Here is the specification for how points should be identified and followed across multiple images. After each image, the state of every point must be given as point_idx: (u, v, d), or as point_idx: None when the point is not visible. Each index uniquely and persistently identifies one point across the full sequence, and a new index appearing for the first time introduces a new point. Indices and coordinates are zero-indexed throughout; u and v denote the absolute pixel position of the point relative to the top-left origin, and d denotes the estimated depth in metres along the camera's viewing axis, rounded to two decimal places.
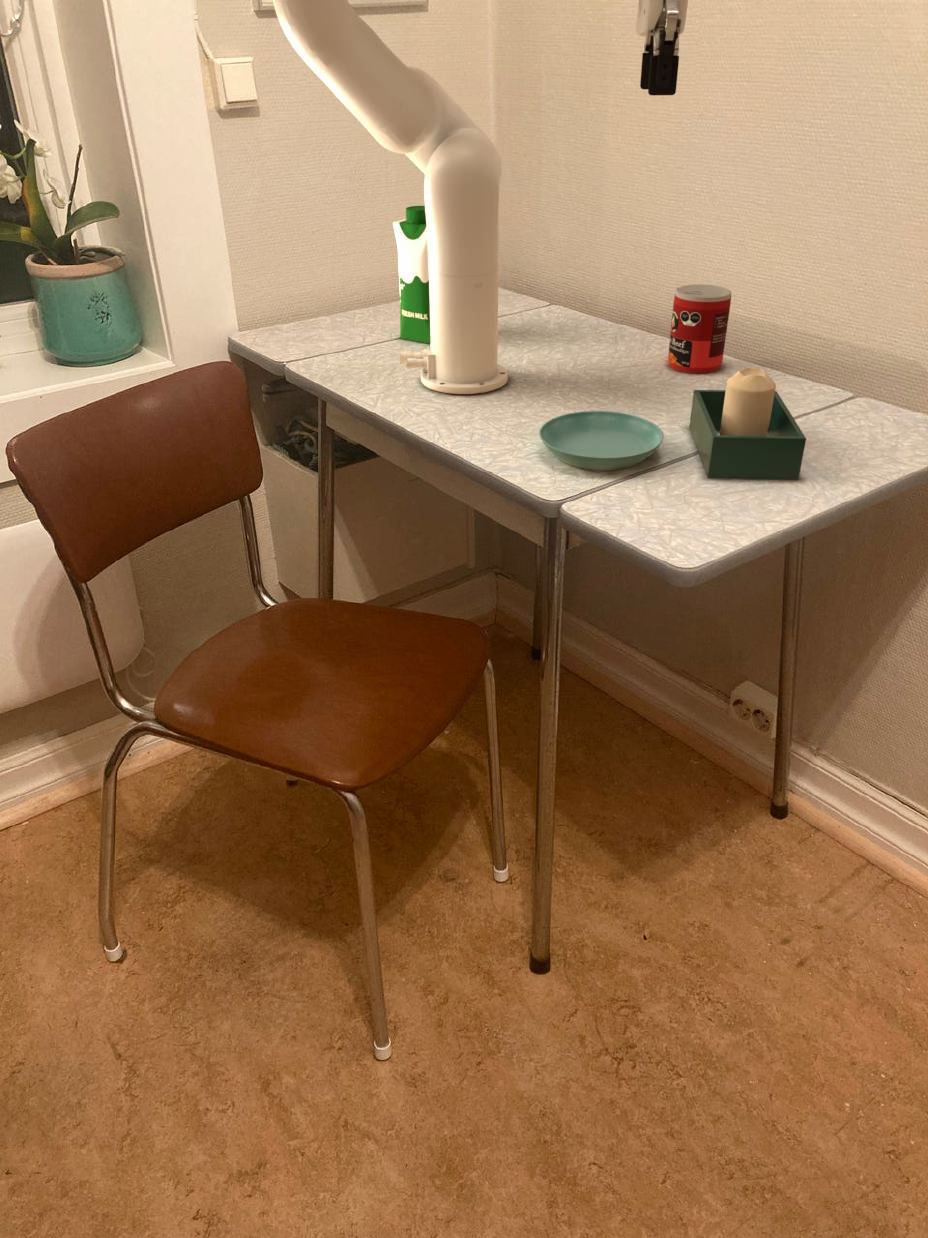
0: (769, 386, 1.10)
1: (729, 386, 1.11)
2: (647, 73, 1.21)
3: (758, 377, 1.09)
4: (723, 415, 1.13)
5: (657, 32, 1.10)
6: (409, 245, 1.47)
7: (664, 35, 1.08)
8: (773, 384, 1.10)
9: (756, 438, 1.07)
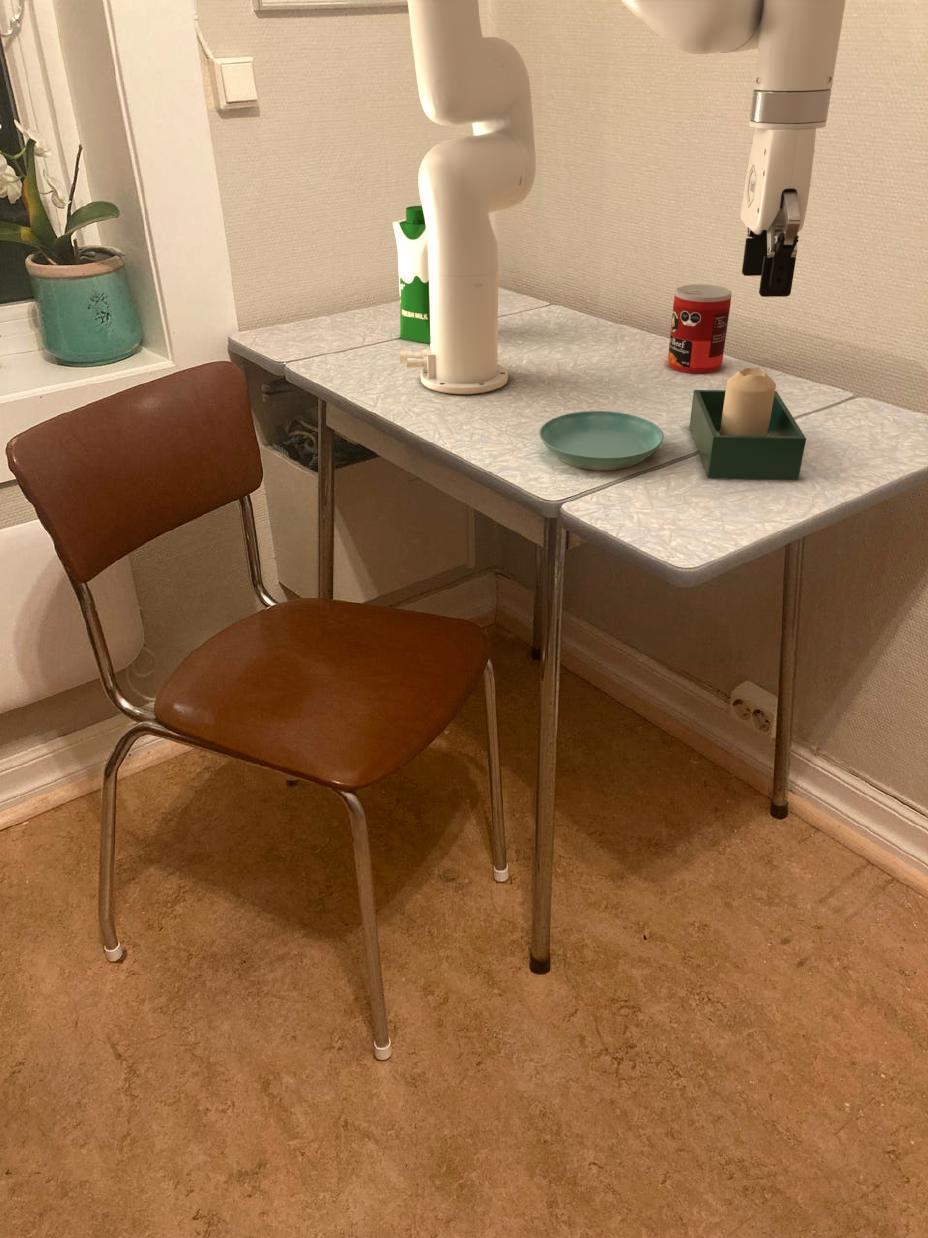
0: (769, 386, 1.10)
1: (729, 386, 1.11)
2: (751, 260, 1.09)
3: (758, 377, 1.09)
4: (723, 415, 1.13)
5: (772, 232, 0.99)
6: (409, 245, 1.47)
7: (783, 240, 0.96)
8: (773, 384, 1.10)
9: (756, 438, 1.07)
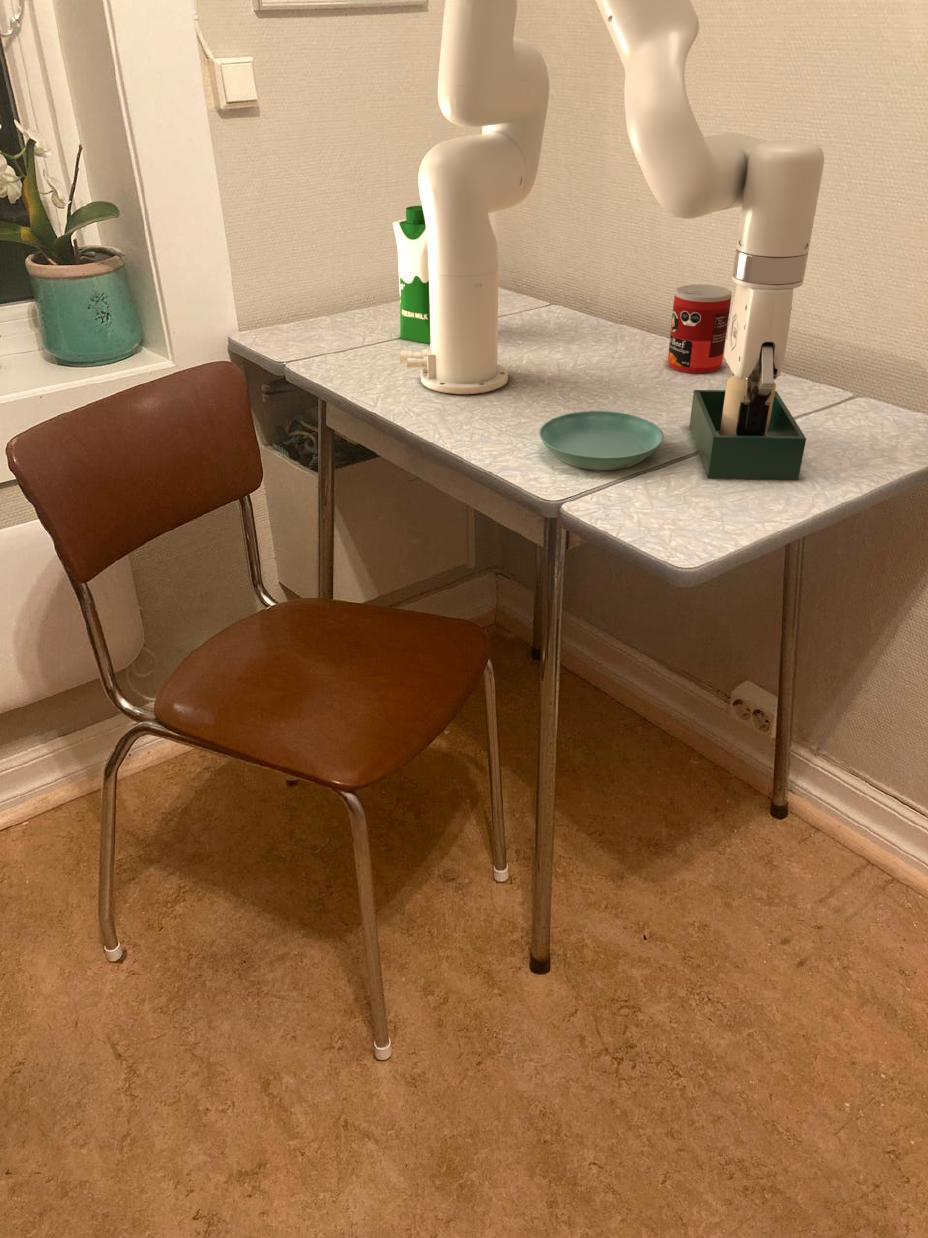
0: None
1: (729, 386, 1.11)
2: None
3: None
4: (723, 415, 1.13)
5: (749, 383, 1.08)
6: (409, 245, 1.47)
7: (756, 395, 1.06)
8: (773, 384, 1.10)
9: (756, 438, 1.07)
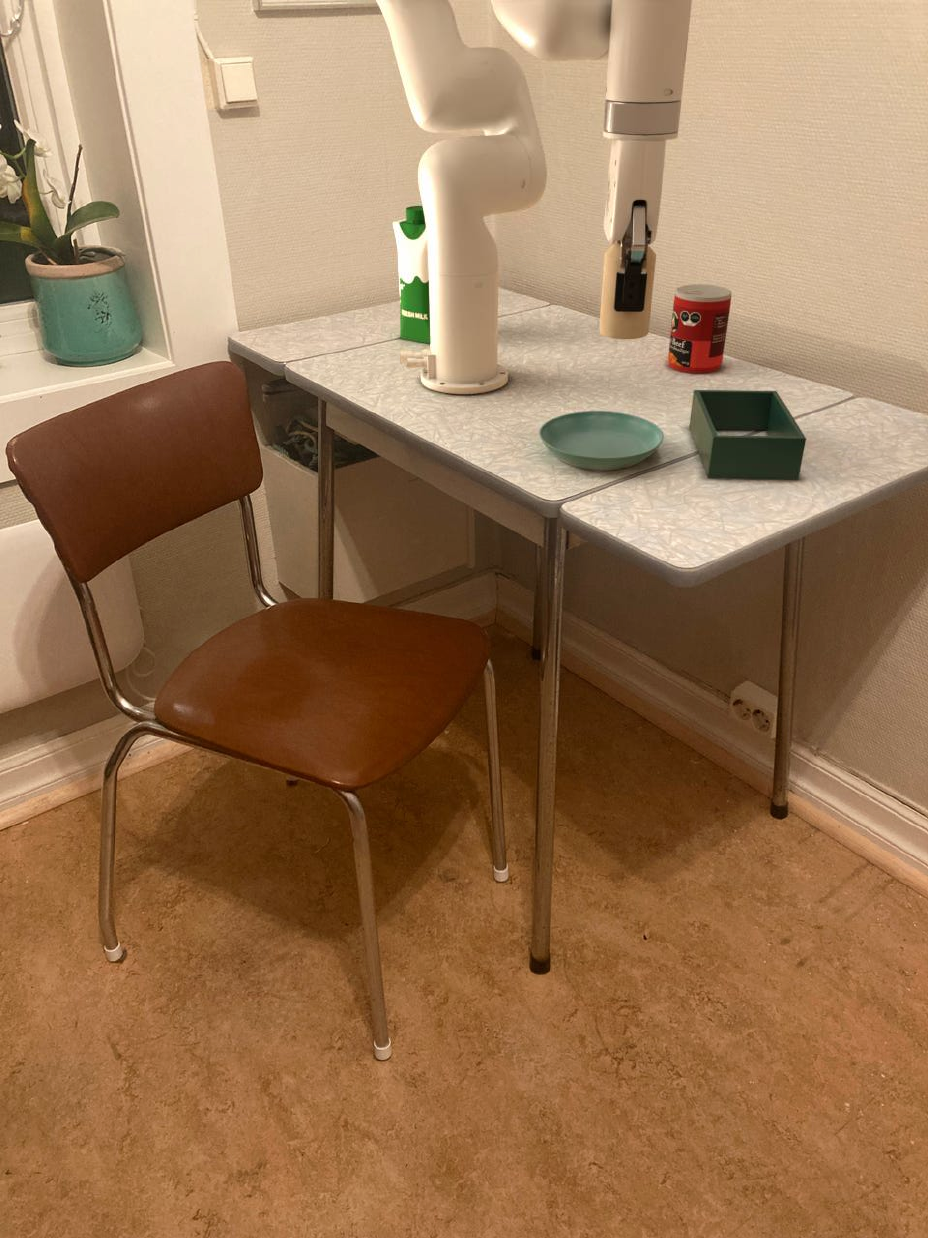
0: (647, 255, 1.02)
1: (606, 257, 1.03)
2: None
3: None
4: (602, 290, 1.06)
5: (624, 249, 1.00)
6: (409, 245, 1.47)
7: (630, 260, 0.99)
8: (652, 253, 1.03)
9: (756, 438, 1.07)
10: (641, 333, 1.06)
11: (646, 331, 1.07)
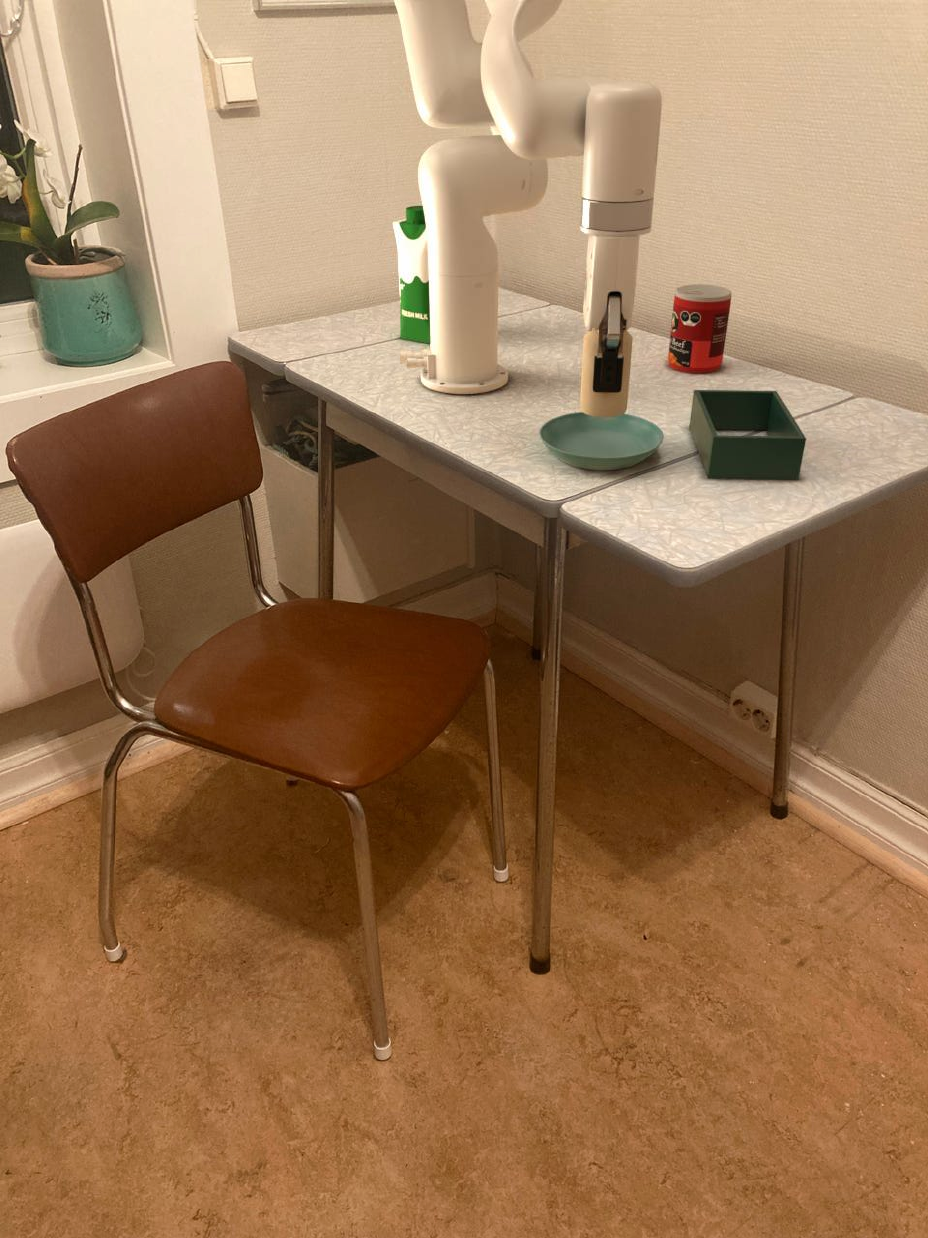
0: (624, 339, 1.07)
1: (585, 340, 1.08)
2: None
3: None
4: (582, 370, 1.11)
5: (601, 336, 1.05)
6: (409, 245, 1.47)
7: (606, 346, 1.03)
8: (629, 337, 1.07)
9: (756, 438, 1.07)
10: (619, 411, 1.11)
11: (624, 409, 1.12)
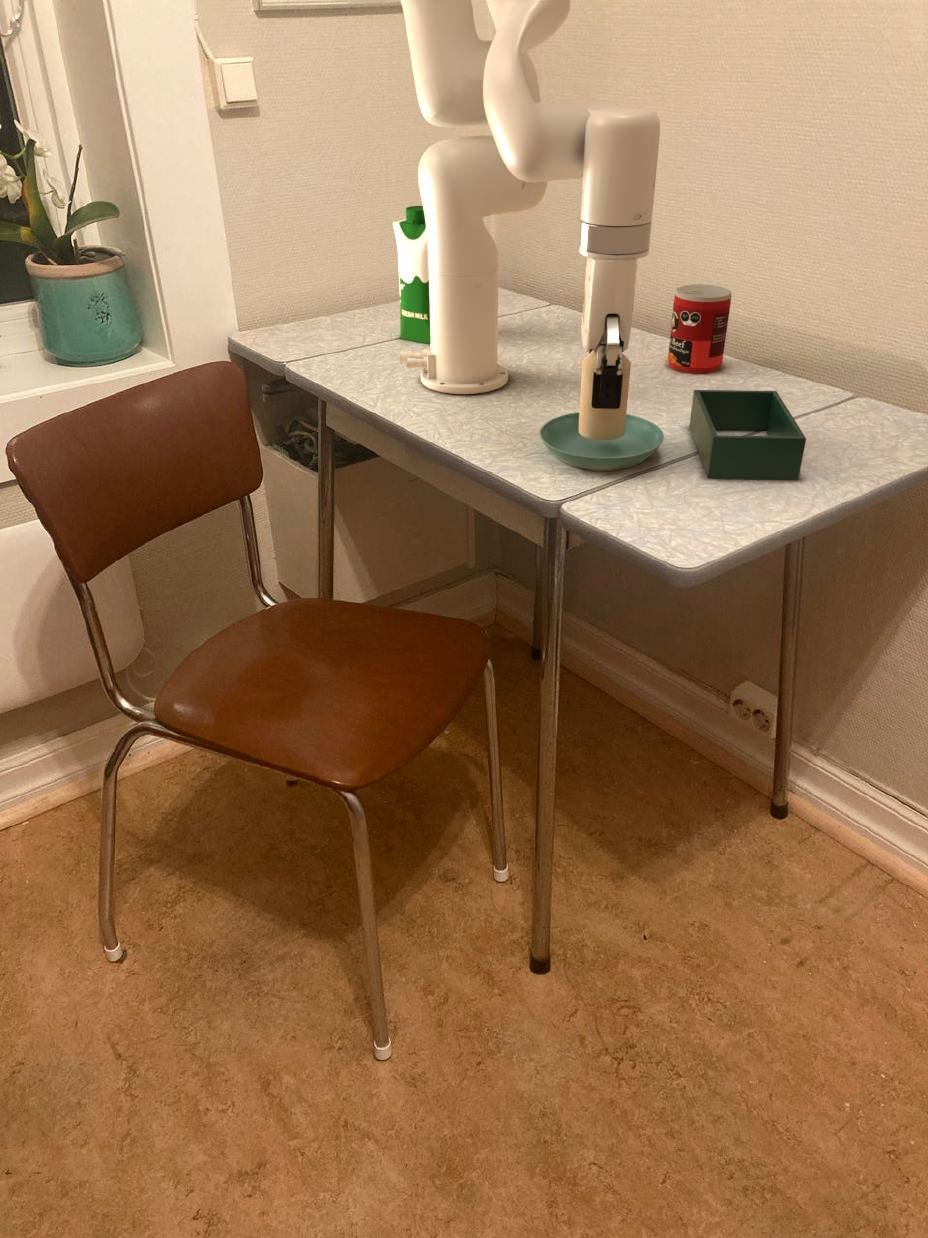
0: (622, 364, 1.08)
1: (584, 365, 1.10)
2: None
3: None
4: None
5: (599, 351, 1.05)
6: (409, 245, 1.47)
7: (605, 362, 1.03)
8: (627, 363, 1.09)
9: (756, 438, 1.07)
10: (617, 434, 1.13)
11: (622, 432, 1.13)
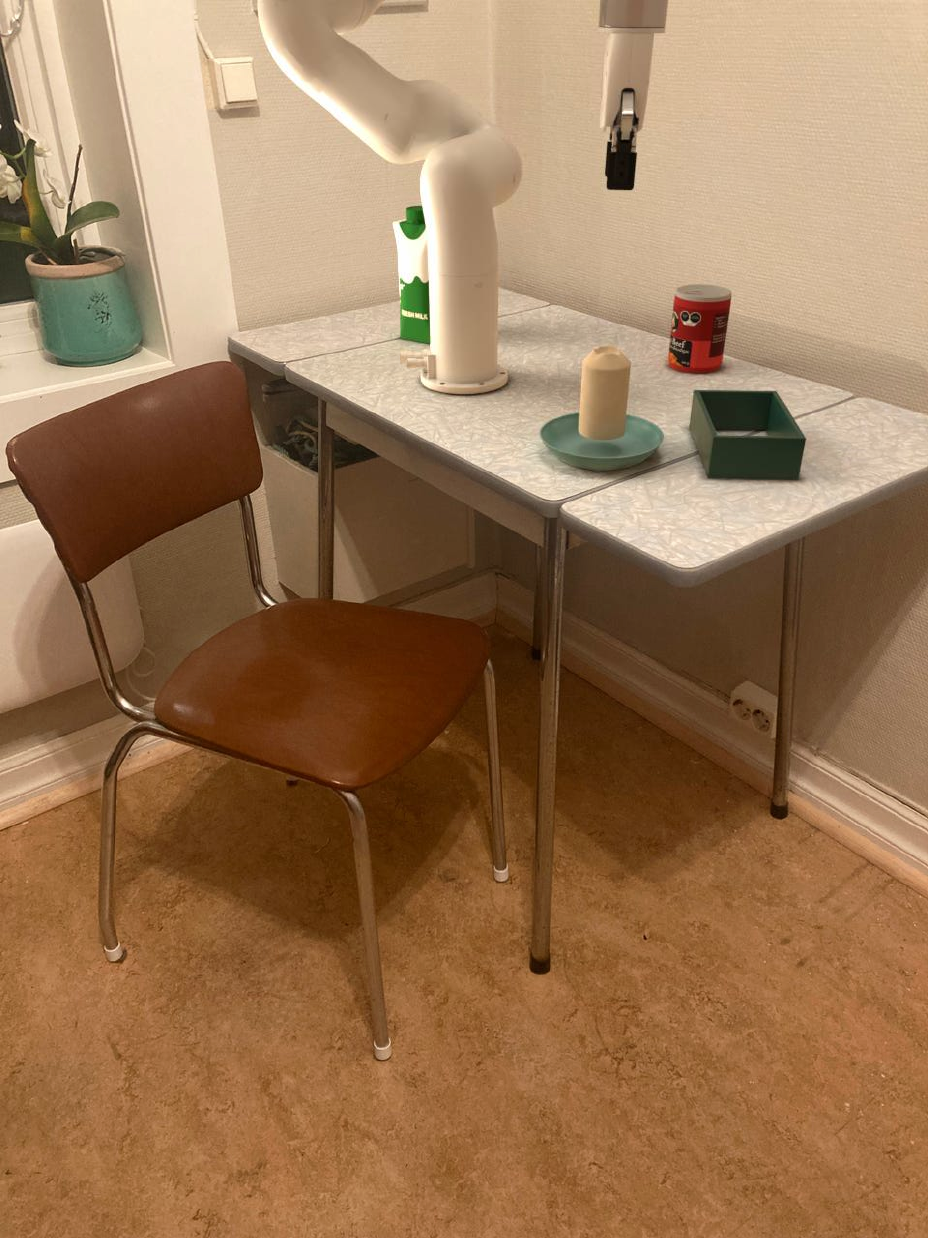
0: (622, 364, 1.08)
1: (584, 365, 1.10)
2: None
3: (611, 355, 1.08)
4: None
5: (615, 129, 1.10)
6: (409, 245, 1.47)
7: (620, 134, 1.08)
8: (627, 363, 1.09)
9: (756, 438, 1.07)
10: (617, 434, 1.13)
11: (622, 432, 1.13)
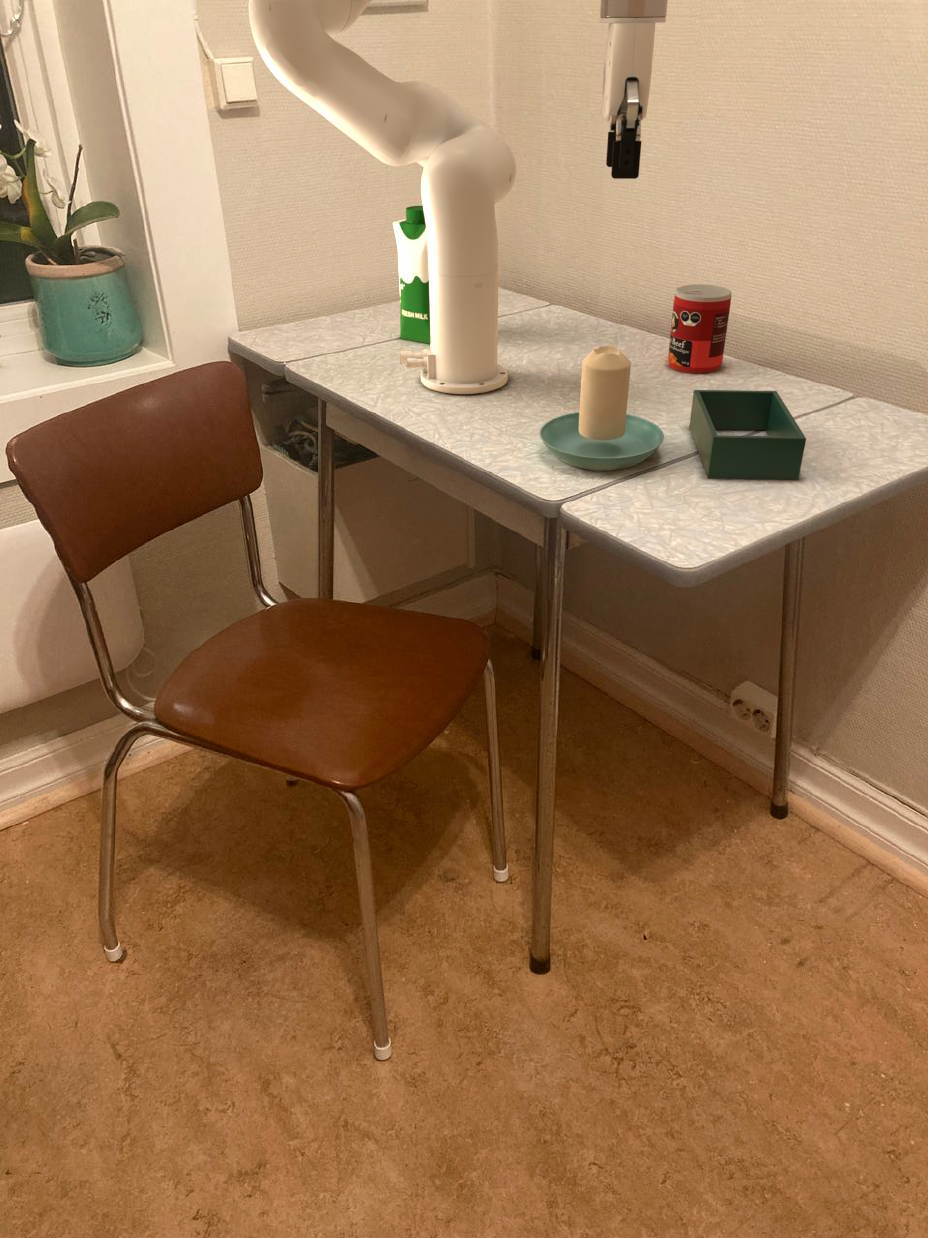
0: (622, 364, 1.08)
1: (584, 365, 1.10)
2: (613, 152, 1.21)
3: (611, 355, 1.08)
4: None
5: (619, 118, 1.11)
6: (409, 245, 1.47)
7: (625, 123, 1.09)
8: (627, 363, 1.09)
9: (756, 438, 1.07)
10: (617, 434, 1.13)
11: (622, 432, 1.13)
